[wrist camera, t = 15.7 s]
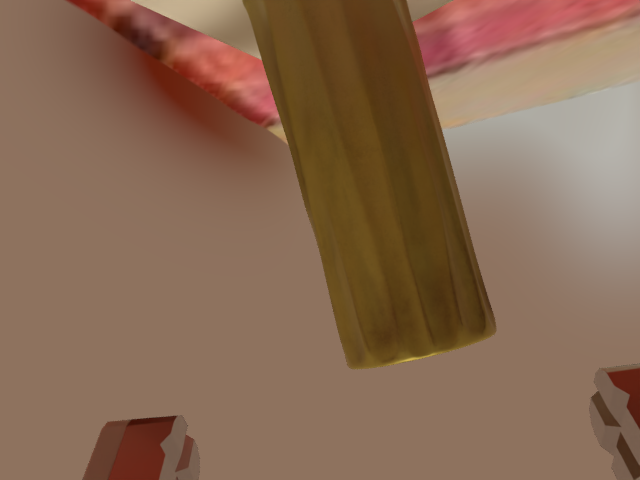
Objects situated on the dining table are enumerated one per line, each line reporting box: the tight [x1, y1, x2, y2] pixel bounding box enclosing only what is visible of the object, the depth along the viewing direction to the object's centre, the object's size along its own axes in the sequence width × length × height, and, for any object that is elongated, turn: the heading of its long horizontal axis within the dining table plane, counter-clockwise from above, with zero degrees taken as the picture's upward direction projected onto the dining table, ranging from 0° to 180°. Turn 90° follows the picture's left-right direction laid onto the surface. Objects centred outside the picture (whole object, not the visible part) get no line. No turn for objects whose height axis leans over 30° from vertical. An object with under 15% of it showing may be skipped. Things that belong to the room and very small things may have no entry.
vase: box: [242, 0, 496, 369], centre depth 20 cm, size 6×6×14 cm
